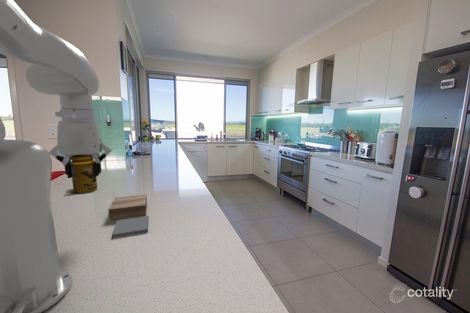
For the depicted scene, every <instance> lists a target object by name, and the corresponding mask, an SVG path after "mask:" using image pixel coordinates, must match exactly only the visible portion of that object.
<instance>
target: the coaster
mask: <svg viewBox="0 0 470 313" xmlns="http://www.w3.org/2000/svg"><path fill="white" fill-rule="evenodd" d="M149 219H150V218H149V215H144V216H137V217H129V218H122V219H116V220H117V221H116V223H115V226H114V228H113V231H112V234H111V237H112V238H118V237H124V236H125V237H126V236H130V235H131V236H132V235H137V234H142V233H148V232H149V221H150V220H149Z"/></svg>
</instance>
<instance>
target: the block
mask: <svg viewBox="0 0 470 313" xmlns="http://www.w3.org/2000/svg"><path fill="white" fill-rule="evenodd" d="M147 196H148V194H140V195H139V194H138V195H129V196H121V197H120V196H119V197H114V198H113V200H112V201H111V204H110V206H109V208H108V218H109V221H114V220H121V219H128V218H135V217H143V216H147V208H148V197H147Z"/></svg>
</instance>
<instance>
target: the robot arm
mask: <svg viewBox="0 0 470 313" xmlns="http://www.w3.org/2000/svg"><path fill="white" fill-rule="evenodd" d="M0 55H2V56H6V57H9V58H11V59H15V60H17V61H21V62H25V63H29V65H28V66H27V67H26V69H25V71H24V72H25V73H24V75H25V79H26V81H27V83H28V85H29V86H30V87H31V88H32V89H33V90H35V91H36V92H38V93H40V94H43V95H47V96H51V95H52V96H59V103H60V105H59V106H60V109H59V111H55V112H54V114H55V115H54V116H55V117H59V118H60V119H61V120H58V122H57V131H56V132H57V133H56V134H57V135H56V137H57V138H56V139H57V140H56V142H57V143H56V145H55V146H54V147H52V149H51V150H50V151H48V150H47V149H46V148H45V147H44V146H42V145H40V144H38V143H36V142H33V141H29V140H21V139H5V137H6V134H7V133H6V126H5V124H4V122H3V121H2V119H1V118H0V313H42V312H44V311H46V310H48V309H50V307H52V306H54V305H55V304H57V303H58V302H59V301H60V300H61V299H62V298H63V297H64V296H65V295H66V294H67V293H68V291H69V290H70V288H71V286H72V282H73V280H72V275H71V273H69V272H68V271H66V270H64V269H63V270H62V269H61V263H60V256H59V249H58V243H57V237H56V236H57V235H56V229H55V228H56V227H55V222H54V216H53V210H52V200H51V180H52V171H53V161H52V157H53V158H55V159H56V160H57V161H59V162H61V164H62V165H63V166H64V172H65V175H66V176H67V178H68V179H71V178H72V173H71V162H72V160H71V158H72V156H75V155H92V157H93V160H94V161H95V163H94V174H95V176H96V177H98V176H99V175H100V174H101V173H102V161H103V160H104V159H105V158H107V156H109V155H110V153H111V152H112V151H113V150H112V148H111V147H109V146H108V145H106V143H103V141H102V138H101V132H100V129H99V125H98V124H99V123H98V122H97V120H96V121H95V115H94V107H93V105H94V104H93V96H92V95H95V94H96V93H97V92H98V90H99V87H100V80H99V78H98V74H97V73H96V71H95V68H94V67H93V66H92V64H91V63H90V62H89V60H88V59H87V58H86V56H85V55H84V54H83V52H82V51H80V50H79V49H78V48H77V47H75V46H74V45H73V44H71V43H69V42H68V41H66V40H65V39H63V38H61V37H59V36H57V35H56V34H54V33H53V32H51V31H48V30H46V29H45V28H44V27H42V26H39V25H37V24H36V23H34V22H33V21H32V20H31V19H30V18H29V17H28V15H26V13H25V12H24V11H23V10H22V9H21V7H19V5H18V4H17V3H16V2H15V1H14V0H0ZM101 152H103V153H102V154H101V155H100V154H99V153H101Z"/></svg>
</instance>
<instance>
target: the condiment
mask: <svg viewBox="0 0 470 313" xmlns="http://www.w3.org/2000/svg"><path fill="white" fill-rule="evenodd" d="M94 163H95V160H94V159H93V157H92V155H75V156H72V158H71V173H72V177H71V178H72V179H71V181H72V188H69V189H65V192H64V194H63V196H62V197H63V198H65V197H70V196H76V195H77V196H78V195H87V194H93V193H99V192H100V188H99V185H98V181H97V176H95V174H94Z"/></svg>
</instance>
